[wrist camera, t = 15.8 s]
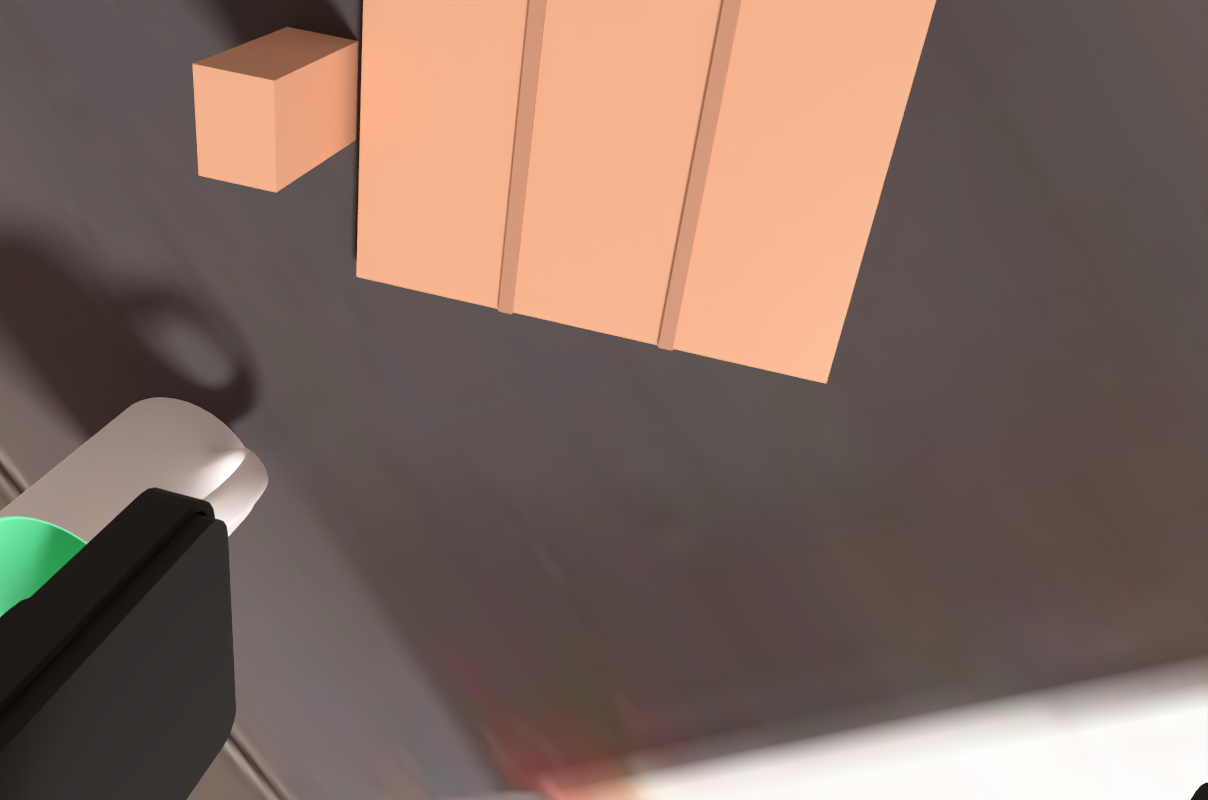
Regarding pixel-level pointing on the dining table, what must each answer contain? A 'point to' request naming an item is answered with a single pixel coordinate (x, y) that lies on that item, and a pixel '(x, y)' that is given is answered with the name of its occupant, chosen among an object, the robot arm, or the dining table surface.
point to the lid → (596, 156)
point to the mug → (124, 487)
